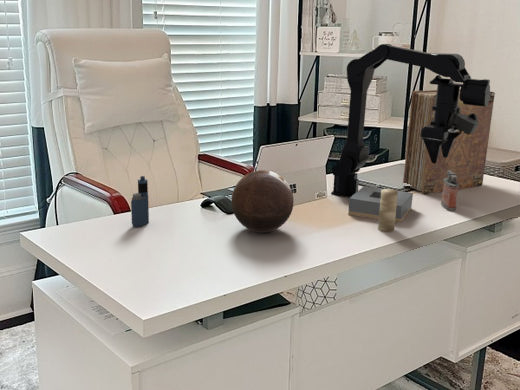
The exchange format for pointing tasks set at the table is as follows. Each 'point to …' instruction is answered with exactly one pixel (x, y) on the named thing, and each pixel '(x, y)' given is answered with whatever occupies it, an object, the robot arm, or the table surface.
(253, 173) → the wooden sphere
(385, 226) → the wooden pin
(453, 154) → the book
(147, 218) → the vaping device
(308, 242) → the table surface
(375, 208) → the grey square-holed block
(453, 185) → the lighter
